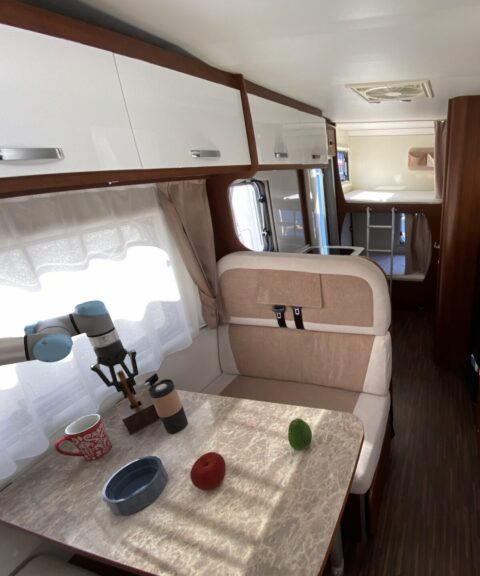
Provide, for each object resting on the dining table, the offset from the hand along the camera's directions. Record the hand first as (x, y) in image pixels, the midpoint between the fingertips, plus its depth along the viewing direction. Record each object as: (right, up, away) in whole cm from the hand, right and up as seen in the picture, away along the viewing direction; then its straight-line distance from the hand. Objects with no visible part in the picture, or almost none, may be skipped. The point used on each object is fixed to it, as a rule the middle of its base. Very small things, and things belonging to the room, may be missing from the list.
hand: (130, 394), depth 116 cm
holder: (+1, -12, +5) cm, 13 cm away
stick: (0, -11, +4) cm, 11 cm away
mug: (-6, -19, -9) cm, 21 cm away
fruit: (+69, -15, -9) cm, 71 cm away
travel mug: (+17, -13, +1) cm, 22 cm away
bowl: (+22, -23, -22) cm, 38 cm away
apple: (+44, -21, -20) cm, 52 cm away
